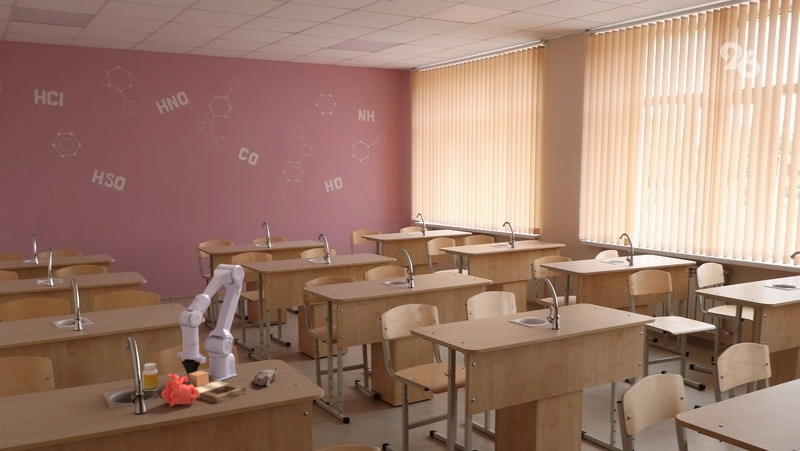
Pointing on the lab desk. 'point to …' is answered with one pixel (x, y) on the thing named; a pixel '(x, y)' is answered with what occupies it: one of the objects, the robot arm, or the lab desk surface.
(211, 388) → the tunnel deck
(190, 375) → the terracotta block
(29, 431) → the lab desk surface
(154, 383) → the supplement bottle
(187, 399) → the anatomical heart
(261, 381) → the mineral rock
